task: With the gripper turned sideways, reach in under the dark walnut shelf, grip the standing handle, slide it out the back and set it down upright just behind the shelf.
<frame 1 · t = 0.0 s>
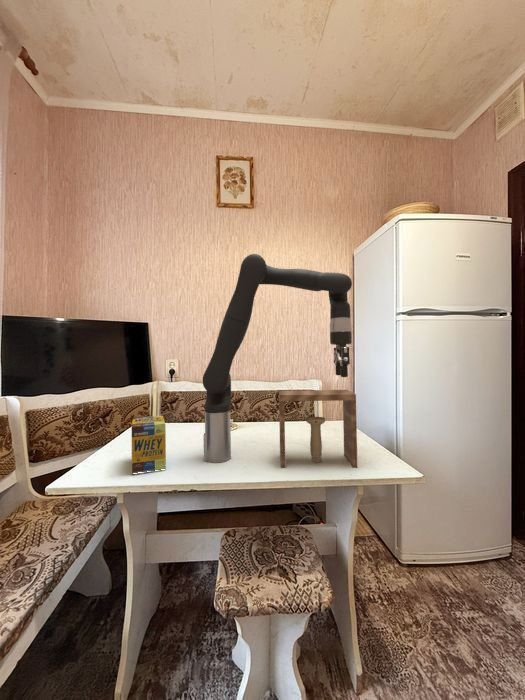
hand: (341, 376, 106), 29 cm above the table, tool pointing down, fingers open, 8 cm apart
protein box: (148, 465, 102), on the table
handle: (316, 461, 103), on the table
shelf: (316, 461, 103), on the table
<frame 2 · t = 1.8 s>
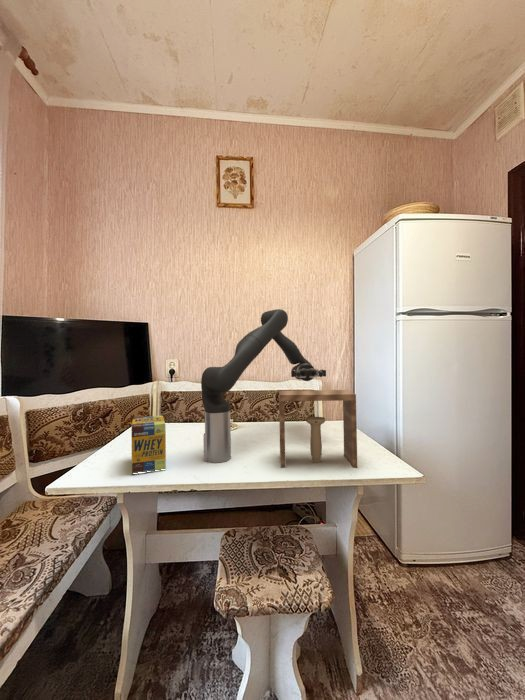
hand: (310, 374, 117), 29 cm above the table, tool horizontal, fingers open, 8 cm apart
nothing on the table moved.
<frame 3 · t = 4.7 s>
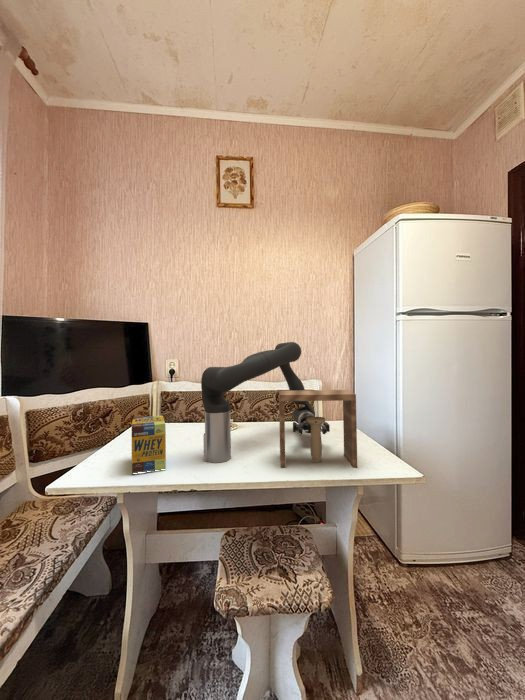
hand: (313, 431, 110), 8 cm above the table, tool horizontal, fingers open, 8 cm apart
nothing on the table moved.
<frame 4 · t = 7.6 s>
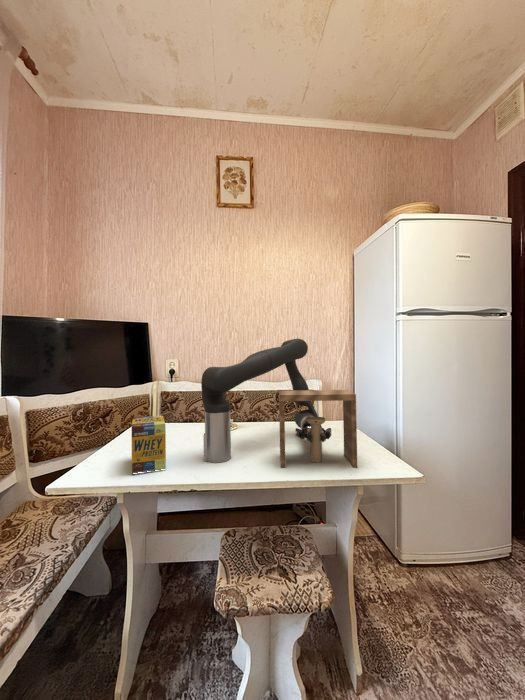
hand: (317, 439, 101), 9 cm above the table, tool horizontal, fingers closed on handle, 3 cm apart
handle: (316, 461, 103), on the table, touching gripper
everything else where it was.
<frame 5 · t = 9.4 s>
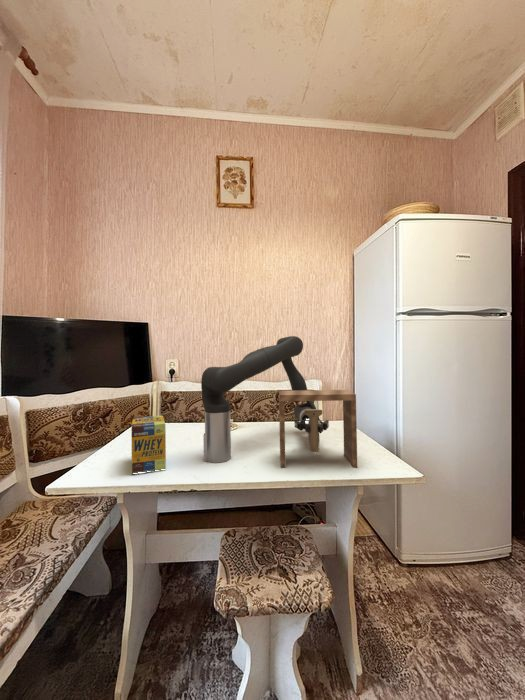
hand: (314, 430, 106), 10 cm above the table, tool horizontal, fingers closed on handle, 3 cm apart
handle: (314, 451, 109), point 1 cm above the table, touching gripper
everything else where it was.
when the fingers open (9 cm above the table, at t = 11.6 s): handle stays where it is, on the table.
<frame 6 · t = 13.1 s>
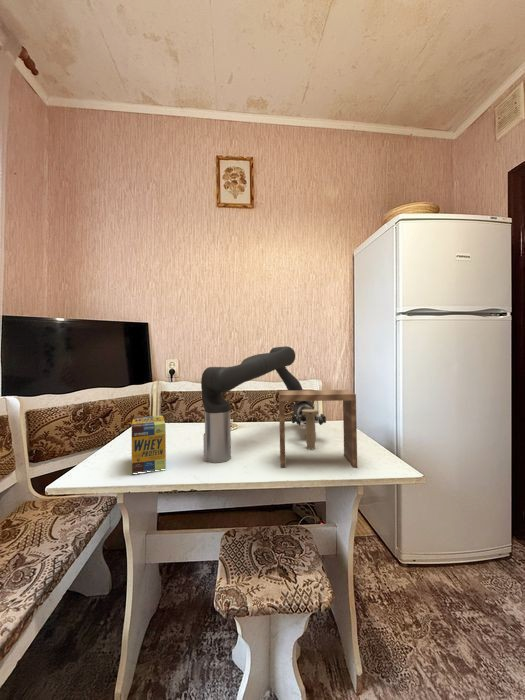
hand: (310, 422, 120), 10 cm above the table, tool horizontal, fingers open, 8 cm apart
handle: (310, 448, 117), on the table
everything else where it was.
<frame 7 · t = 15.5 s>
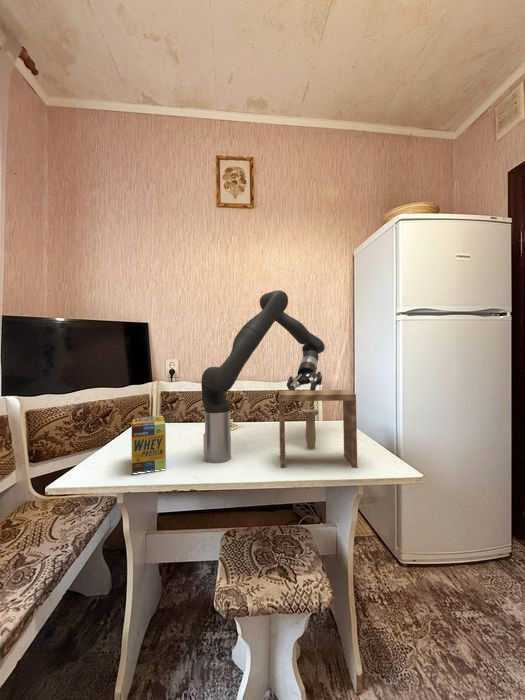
hand: (301, 392, 116), 22 cm above the table, tool tilted 55°, fingers open, 8 cm apart
nothing on the table moved.
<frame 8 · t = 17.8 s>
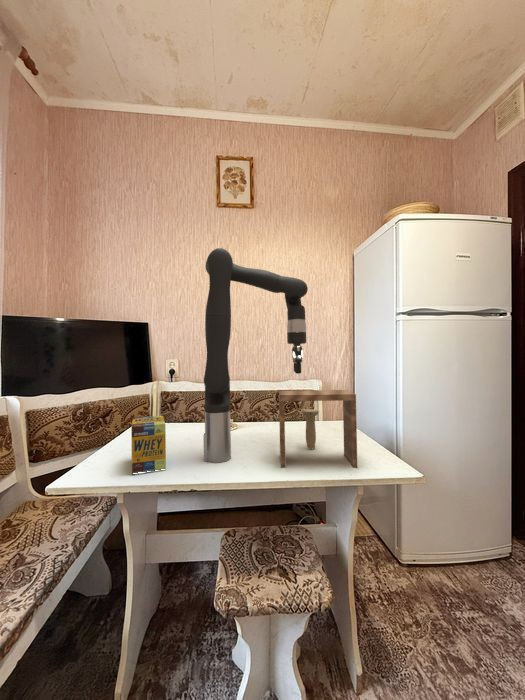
hand: (297, 372, 117), 30 cm above the table, tool pointing down, fingers open, 8 cm apart
nothing on the table moved.
at the end: handle inside the target area (0.4 cm from its centre), on the table; handle tilted 0°; the gripper is holding nothing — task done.
